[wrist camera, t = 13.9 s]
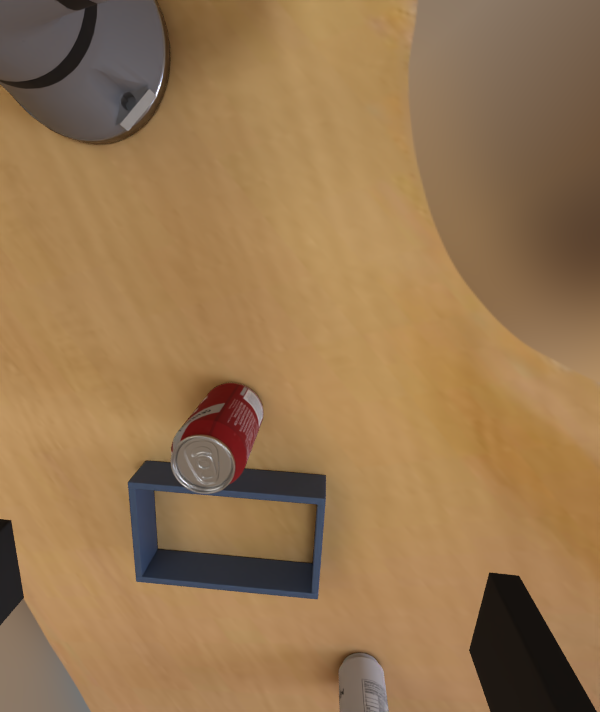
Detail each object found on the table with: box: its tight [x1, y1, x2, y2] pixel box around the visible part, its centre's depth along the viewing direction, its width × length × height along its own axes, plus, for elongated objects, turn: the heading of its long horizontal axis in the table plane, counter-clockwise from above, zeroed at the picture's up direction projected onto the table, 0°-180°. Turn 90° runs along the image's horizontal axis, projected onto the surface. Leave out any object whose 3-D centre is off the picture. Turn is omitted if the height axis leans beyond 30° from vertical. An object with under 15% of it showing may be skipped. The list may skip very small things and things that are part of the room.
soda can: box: [171, 383, 263, 494], centre depth 39 cm, size 7×7×12 cm
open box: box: [128, 461, 326, 599], centre depth 46 cm, size 14×22×4 cm, turn 87°
